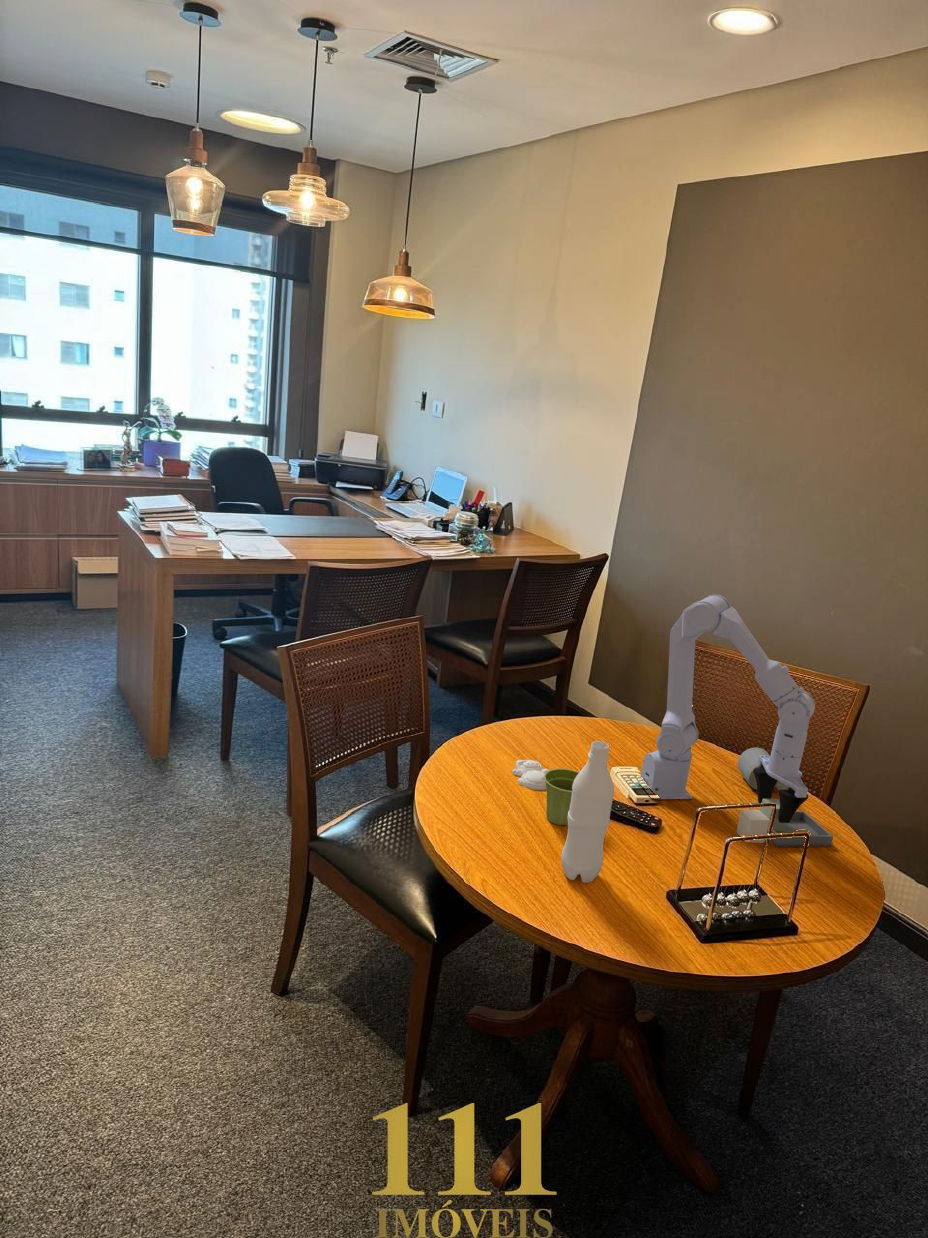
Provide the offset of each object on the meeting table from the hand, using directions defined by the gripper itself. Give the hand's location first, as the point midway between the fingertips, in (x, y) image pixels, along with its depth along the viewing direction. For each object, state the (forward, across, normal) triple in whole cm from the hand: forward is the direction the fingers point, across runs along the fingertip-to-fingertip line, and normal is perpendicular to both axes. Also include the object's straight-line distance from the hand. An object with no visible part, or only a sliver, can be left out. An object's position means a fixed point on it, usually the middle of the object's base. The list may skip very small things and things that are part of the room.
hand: (773, 812), depth 169 cm
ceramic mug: (+4, +18, -9) cm, 21 cm away
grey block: (+3, -4, +6) cm, 8 cm away
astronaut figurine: (+4, +23, +44) cm, 50 cm away
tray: (+3, -2, -3) cm, 5 cm away
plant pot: (+4, +4, +44) cm, 44 cm away
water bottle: (+4, -14, +46) cm, 49 cm away
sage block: (+3, 0, 0) cm, 3 cm away
